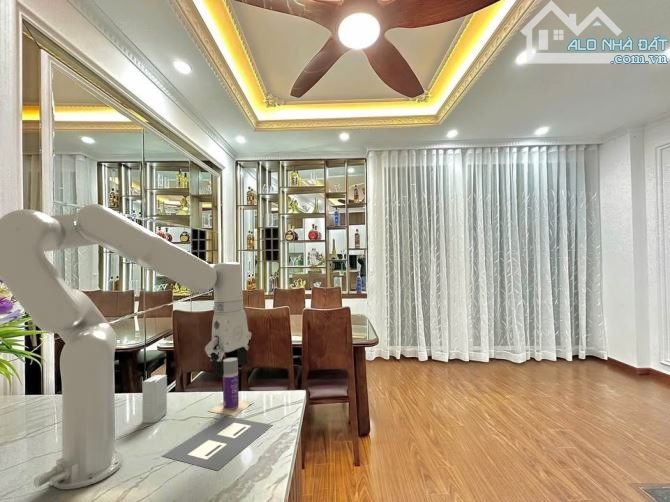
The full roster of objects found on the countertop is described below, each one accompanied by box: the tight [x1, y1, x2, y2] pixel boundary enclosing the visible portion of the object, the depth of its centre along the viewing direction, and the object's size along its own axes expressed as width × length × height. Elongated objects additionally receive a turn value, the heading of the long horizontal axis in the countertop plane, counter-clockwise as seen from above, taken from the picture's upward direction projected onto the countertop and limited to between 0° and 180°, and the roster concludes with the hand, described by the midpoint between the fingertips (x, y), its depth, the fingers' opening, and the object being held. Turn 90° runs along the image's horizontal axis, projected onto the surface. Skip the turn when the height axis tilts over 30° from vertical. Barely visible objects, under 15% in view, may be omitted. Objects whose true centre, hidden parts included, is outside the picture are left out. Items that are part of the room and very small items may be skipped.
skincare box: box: [141, 374, 168, 424], centre depth 100 cm, size 6×4×12 cm
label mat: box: [162, 415, 273, 472], centre depth 86 cm, size 22×17×1 cm
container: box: [222, 357, 240, 410], centre depth 107 cm, size 5×5×15 cm
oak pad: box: [207, 400, 251, 417], centre depth 106 cm, size 10×10×1 cm
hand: (231, 370), depth 90 cm, fingers open, 9 cm apart
